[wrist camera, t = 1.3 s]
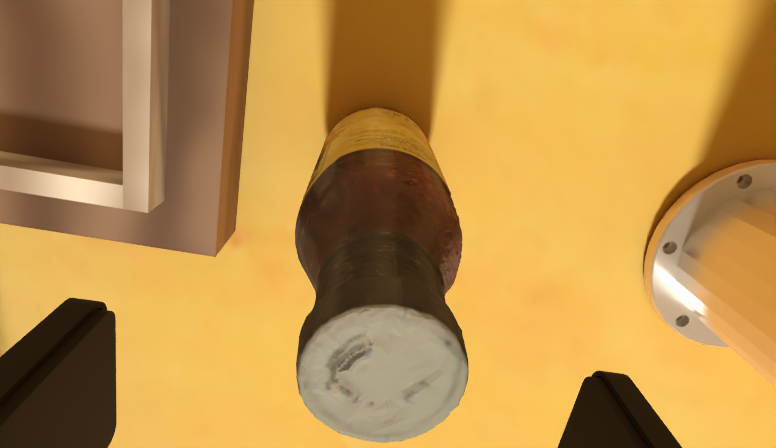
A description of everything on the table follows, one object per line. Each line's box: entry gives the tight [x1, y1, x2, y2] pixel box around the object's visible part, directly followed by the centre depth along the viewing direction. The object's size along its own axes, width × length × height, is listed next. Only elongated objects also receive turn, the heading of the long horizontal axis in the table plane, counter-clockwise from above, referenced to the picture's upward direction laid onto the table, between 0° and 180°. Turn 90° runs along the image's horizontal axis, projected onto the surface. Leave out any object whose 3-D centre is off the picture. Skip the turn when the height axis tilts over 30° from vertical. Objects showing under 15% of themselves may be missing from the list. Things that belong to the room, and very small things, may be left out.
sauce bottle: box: [295, 107, 468, 443], centre depth 20 cm, size 6×6×20 cm
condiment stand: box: [0, 0, 254, 257], centre depth 25 cm, size 18×18×6 cm
